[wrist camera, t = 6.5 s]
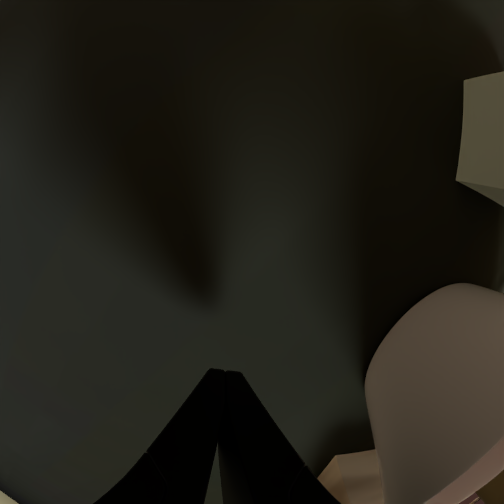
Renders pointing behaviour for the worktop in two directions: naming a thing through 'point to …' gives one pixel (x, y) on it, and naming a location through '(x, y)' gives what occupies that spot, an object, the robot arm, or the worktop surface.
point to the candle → (440, 397)
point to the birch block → (354, 478)
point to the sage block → (483, 136)
